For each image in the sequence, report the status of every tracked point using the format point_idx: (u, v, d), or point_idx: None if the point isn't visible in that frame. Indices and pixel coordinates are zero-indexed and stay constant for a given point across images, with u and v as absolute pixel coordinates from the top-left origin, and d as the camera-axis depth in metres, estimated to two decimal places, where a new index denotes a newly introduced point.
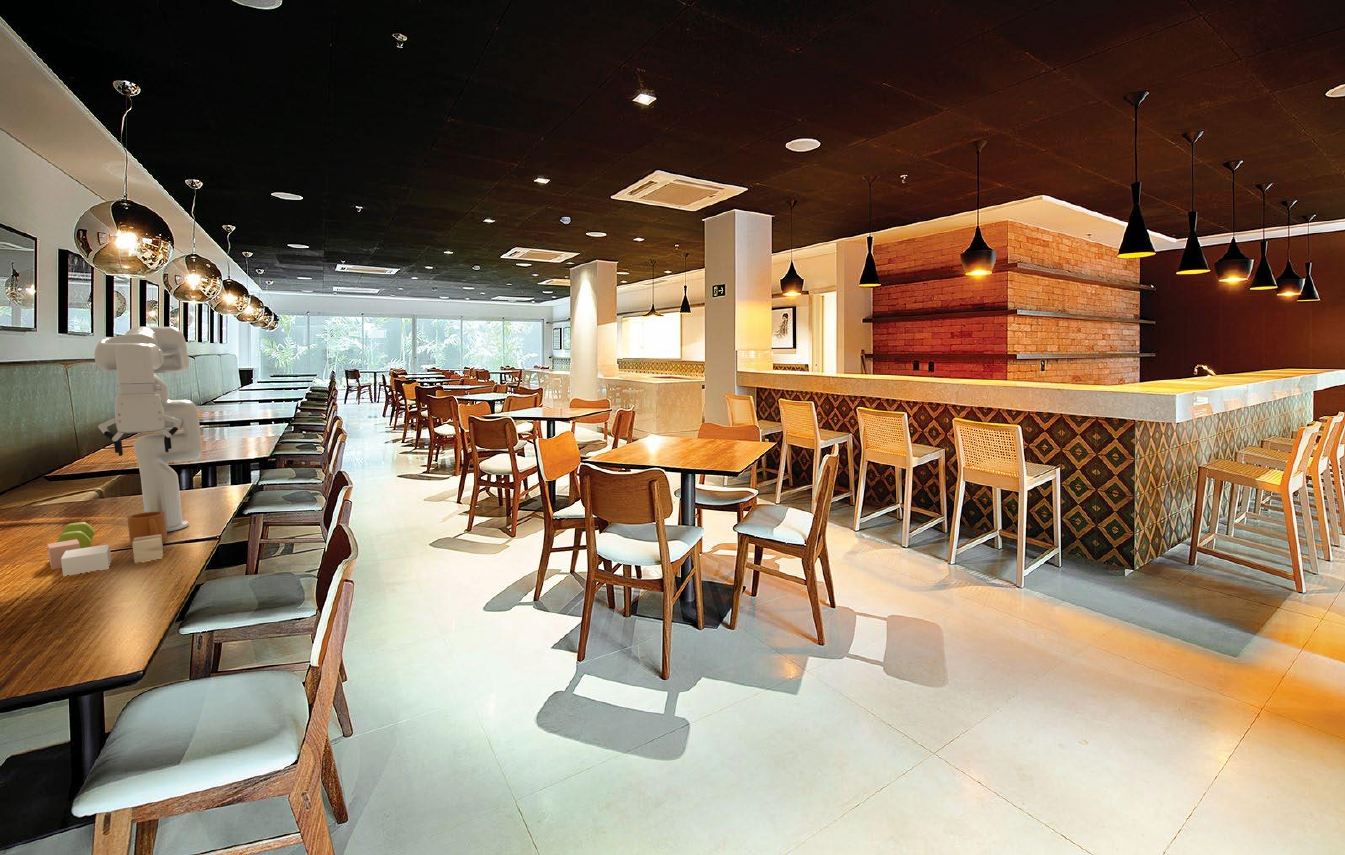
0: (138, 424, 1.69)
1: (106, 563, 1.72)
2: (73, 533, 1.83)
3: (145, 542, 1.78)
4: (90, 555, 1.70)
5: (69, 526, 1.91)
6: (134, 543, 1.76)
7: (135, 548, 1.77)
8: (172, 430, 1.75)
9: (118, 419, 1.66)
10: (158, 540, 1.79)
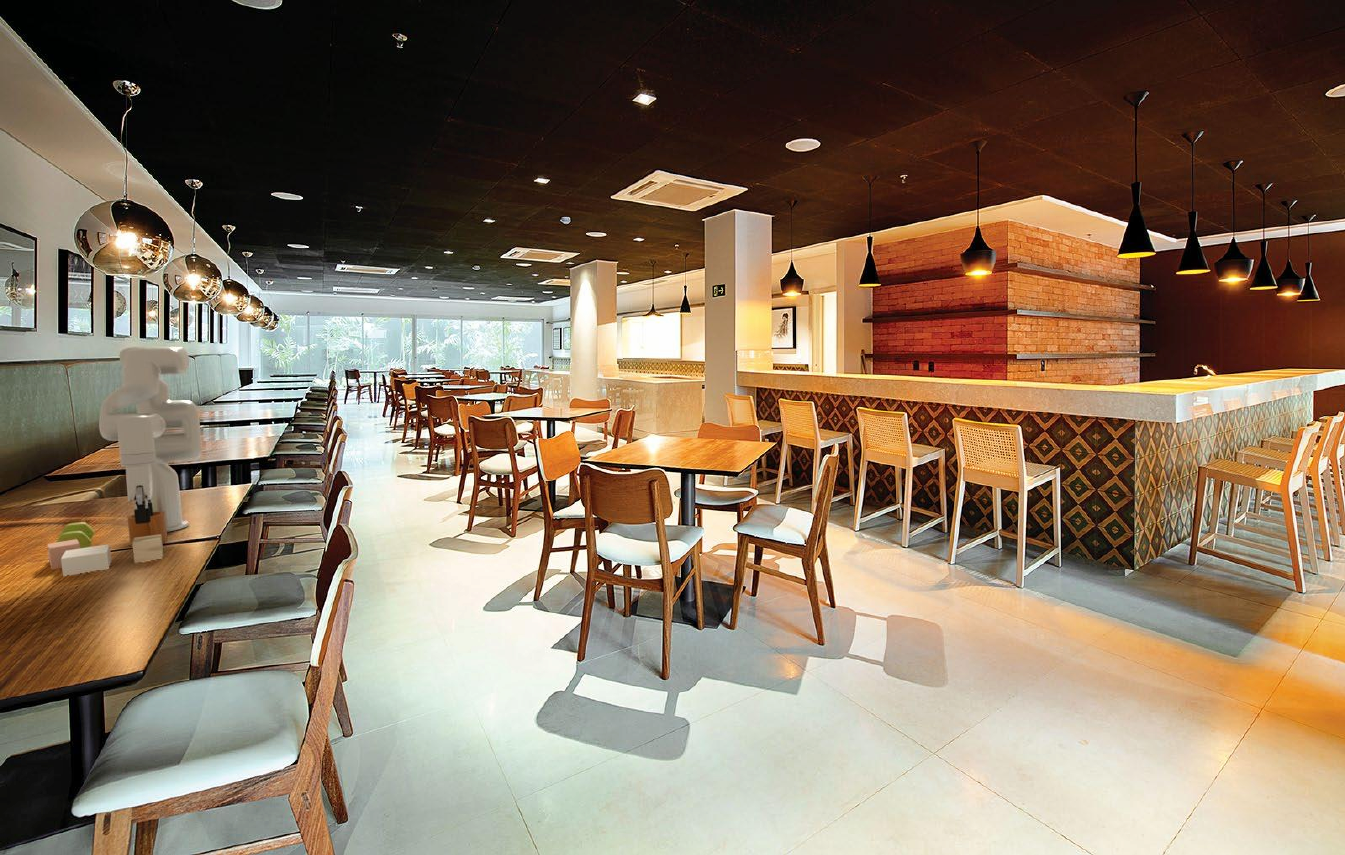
0: None
1: (106, 563, 1.72)
2: (73, 533, 1.83)
3: (145, 542, 1.78)
4: (90, 555, 1.70)
5: (68, 526, 1.91)
6: (134, 543, 1.76)
7: (135, 548, 1.77)
8: None
9: (149, 487, 1.76)
10: (158, 540, 1.79)
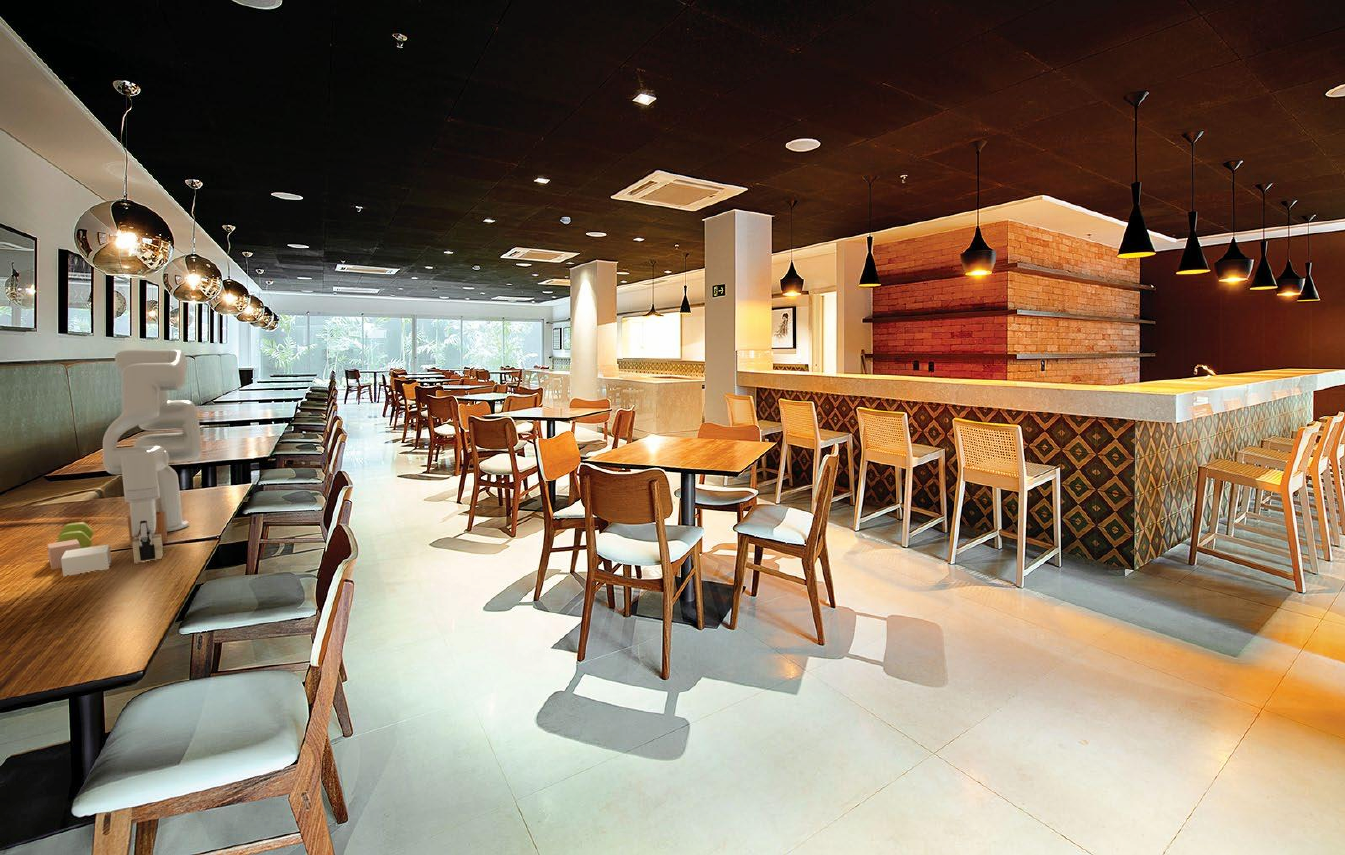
0: (155, 524, 1.81)
1: (106, 563, 1.72)
2: (73, 533, 1.83)
3: None
4: (90, 555, 1.70)
5: (68, 526, 1.91)
6: (134, 543, 1.76)
7: (135, 548, 1.76)
8: None
9: (153, 521, 1.77)
10: (158, 540, 1.79)
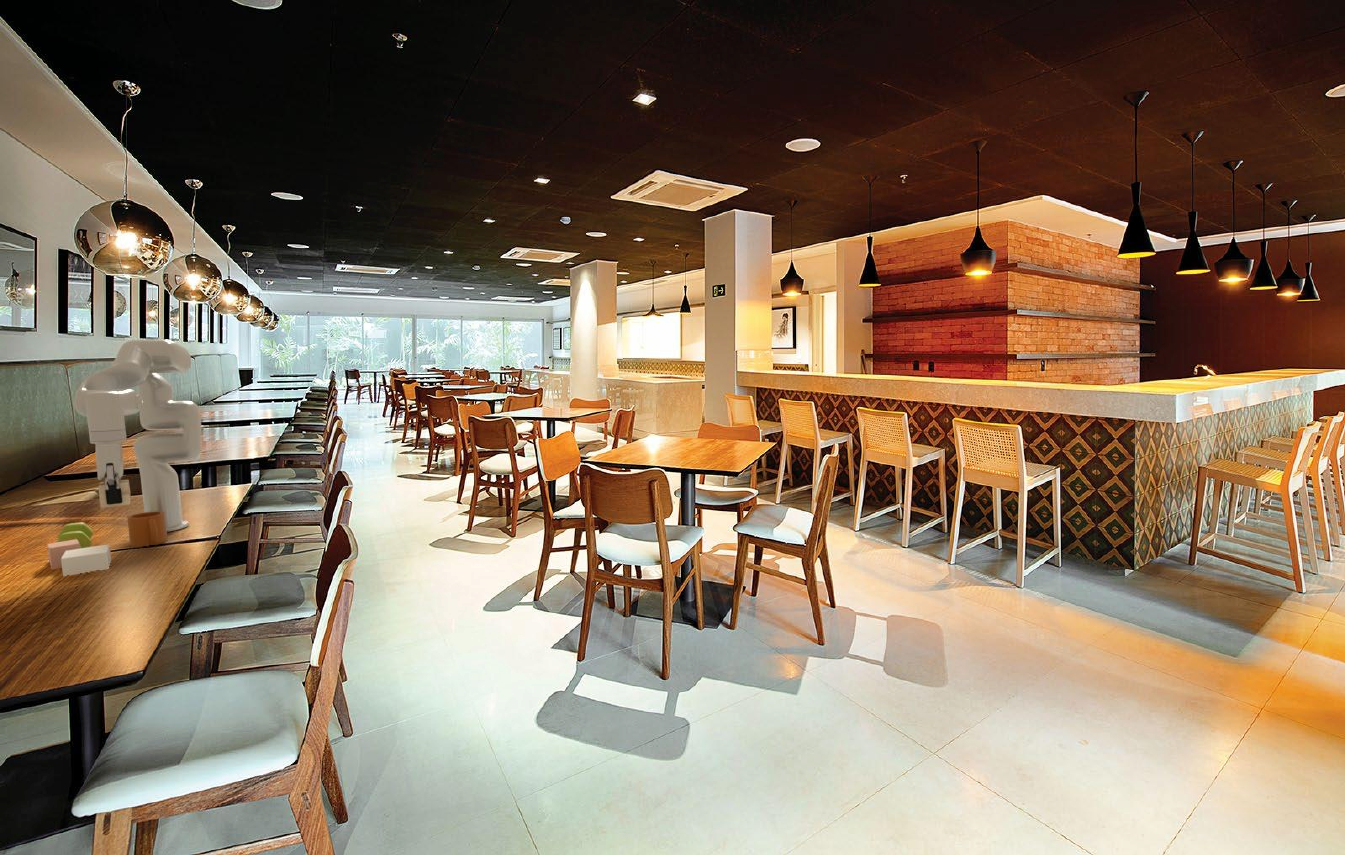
0: (122, 468, 1.75)
1: (106, 563, 1.72)
2: (73, 533, 1.83)
3: None
4: (90, 555, 1.70)
5: (67, 526, 1.91)
6: (100, 486, 1.71)
7: (101, 492, 1.71)
8: None
9: (120, 464, 1.72)
10: (125, 484, 1.74)
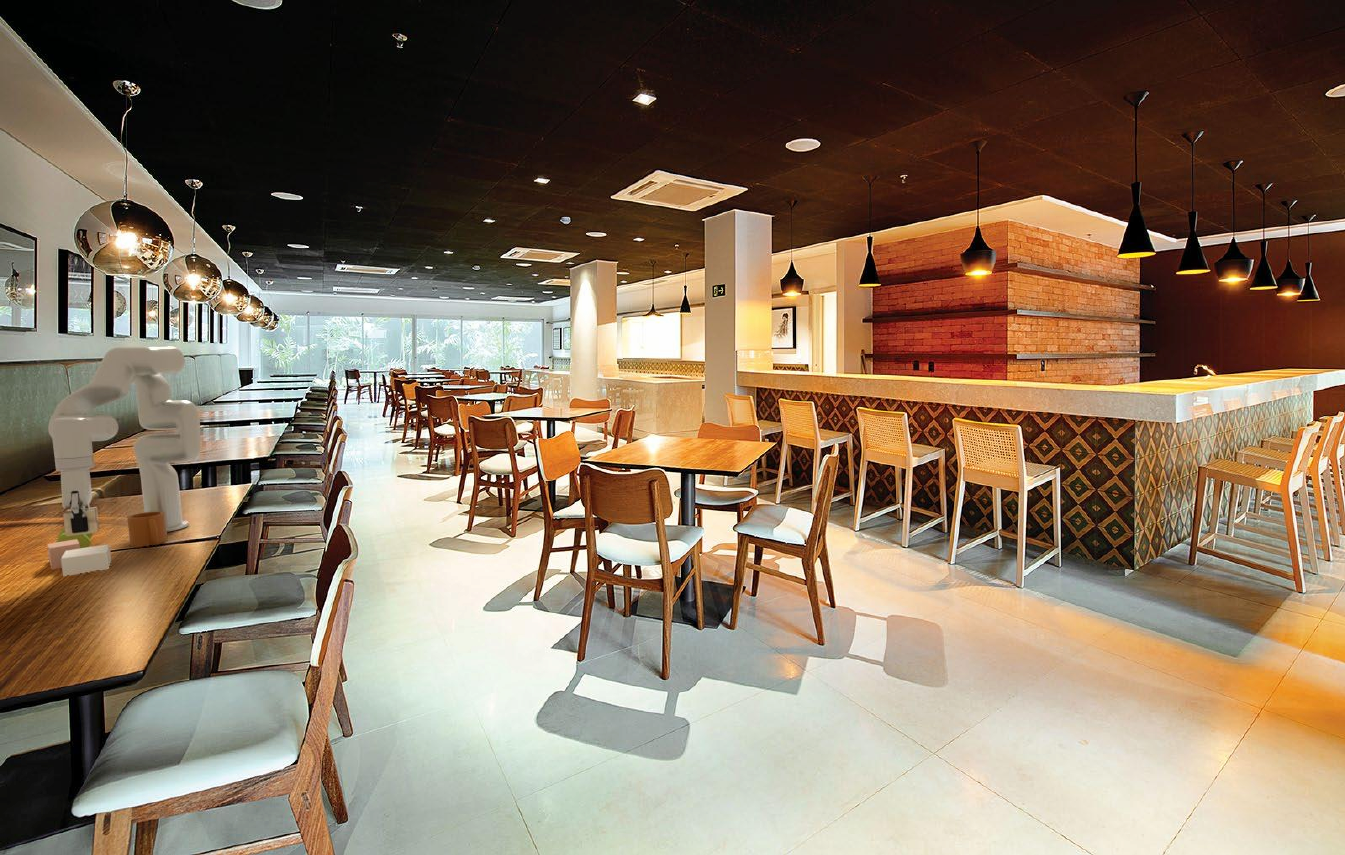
0: (90, 495, 1.72)
1: (106, 563, 1.72)
2: None
3: None
4: (90, 555, 1.70)
5: None
6: (65, 514, 1.67)
7: (66, 520, 1.68)
8: None
9: (86, 492, 1.68)
10: (92, 512, 1.70)
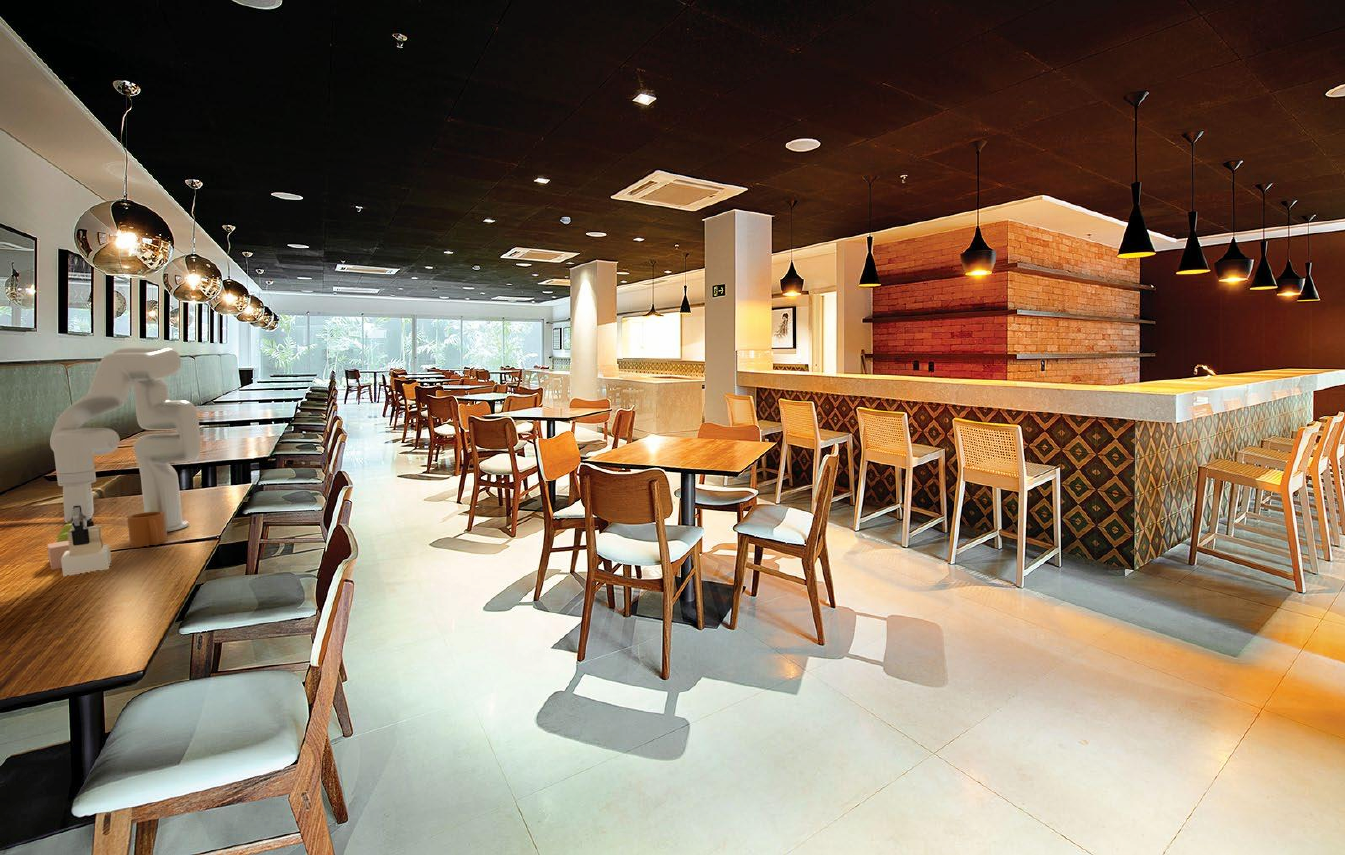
0: (92, 509, 1.72)
1: (106, 563, 1.72)
2: None
3: None
4: (90, 555, 1.70)
5: (67, 526, 1.91)
6: (69, 534, 1.68)
7: (70, 540, 1.69)
8: None
9: (88, 507, 1.69)
10: (96, 531, 1.71)
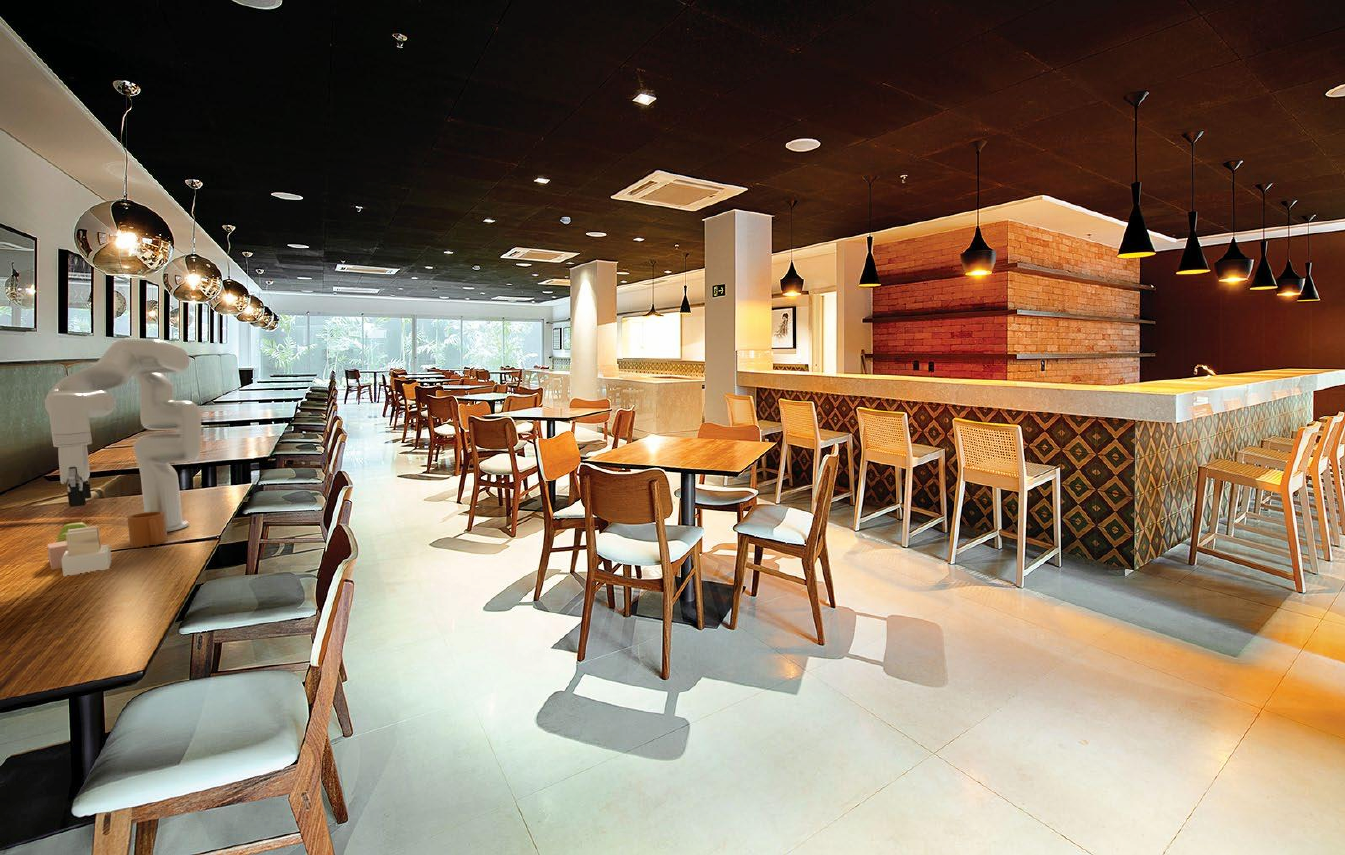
0: (88, 471, 1.71)
1: (106, 563, 1.72)
2: None
3: (80, 534, 1.69)
4: (90, 555, 1.70)
5: (67, 526, 1.91)
6: (68, 535, 1.68)
7: (69, 540, 1.68)
8: None
9: (83, 468, 1.68)
10: (94, 531, 1.71)
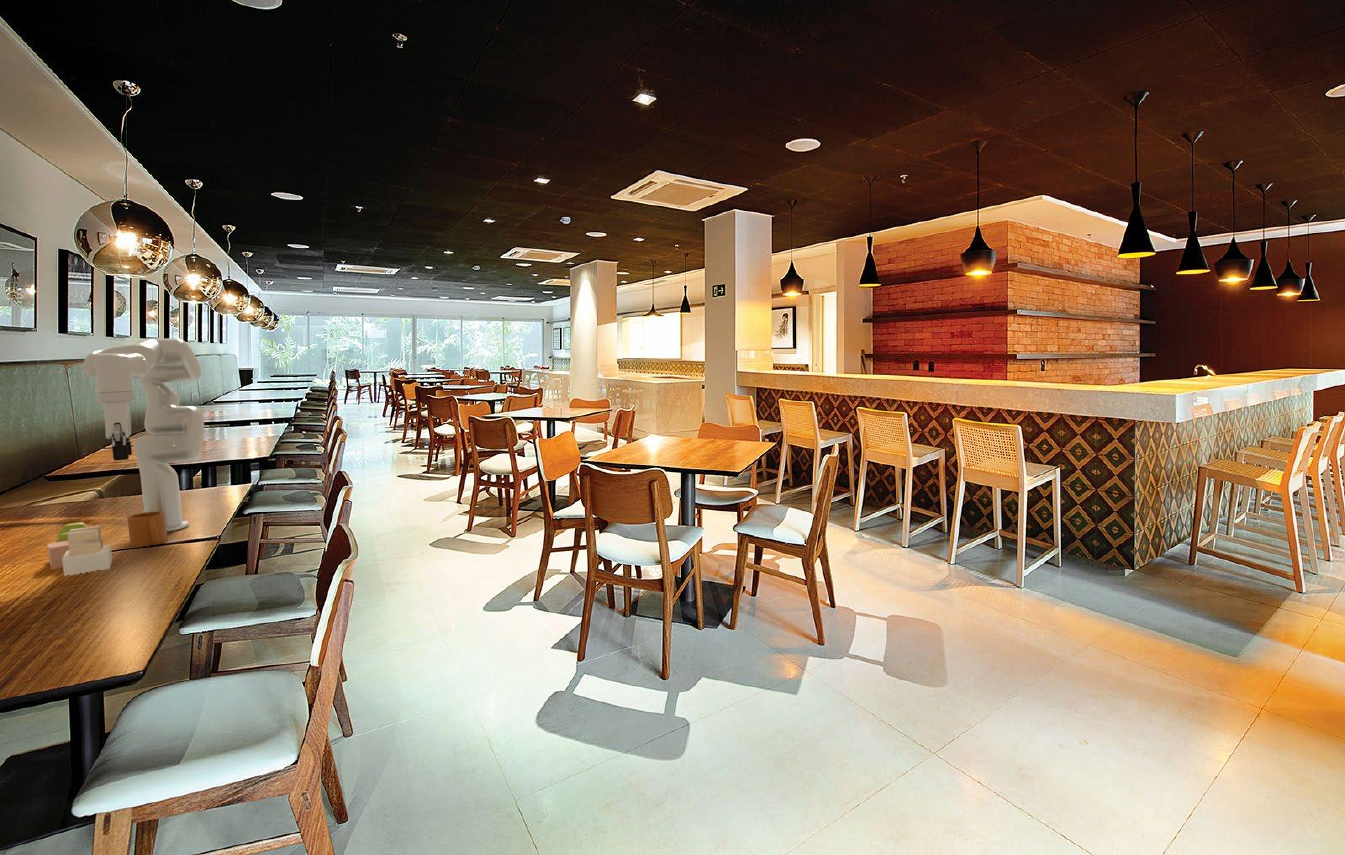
0: (130, 429, 1.82)
1: (107, 563, 1.72)
2: None
3: (81, 533, 1.69)
4: (91, 555, 1.70)
5: (67, 526, 1.91)
6: (69, 534, 1.68)
7: (70, 540, 1.68)
8: None
9: (127, 424, 1.79)
10: (95, 531, 1.71)
